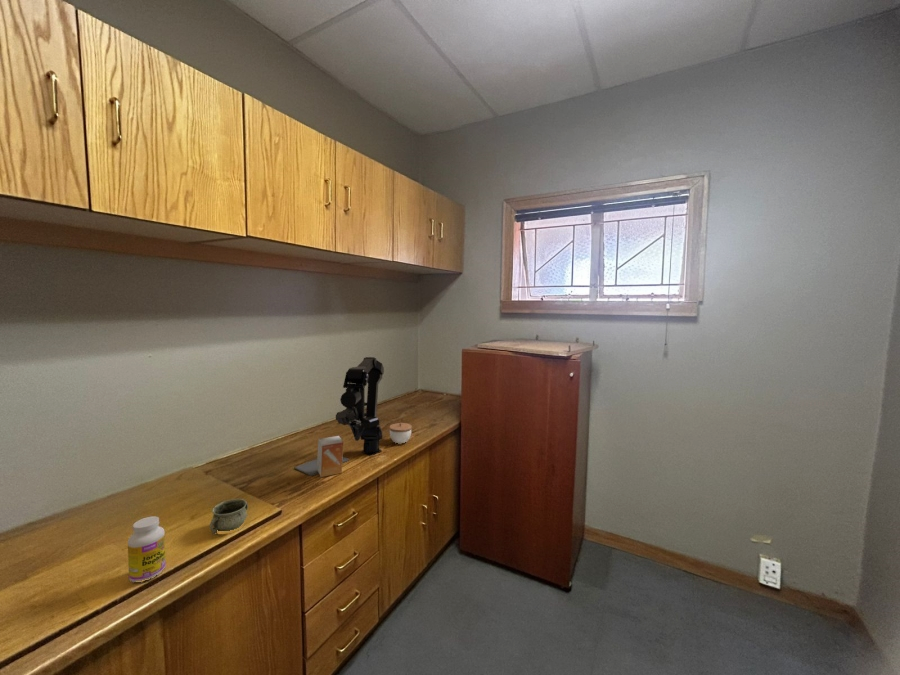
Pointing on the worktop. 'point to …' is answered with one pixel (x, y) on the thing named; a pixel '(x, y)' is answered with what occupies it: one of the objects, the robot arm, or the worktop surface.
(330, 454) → the small box
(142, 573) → the supplement bottle
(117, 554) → the worktop surface
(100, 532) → the worktop surface
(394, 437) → the lidded jar
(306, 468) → the mat
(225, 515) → the vessel
